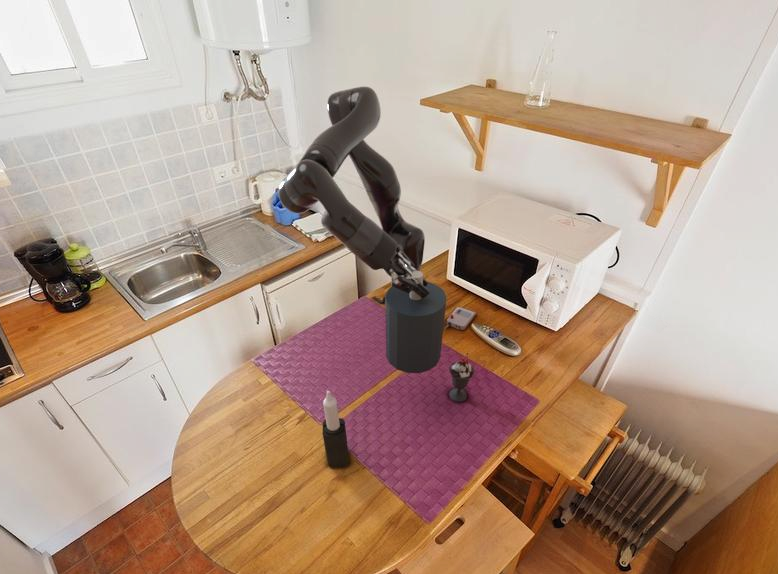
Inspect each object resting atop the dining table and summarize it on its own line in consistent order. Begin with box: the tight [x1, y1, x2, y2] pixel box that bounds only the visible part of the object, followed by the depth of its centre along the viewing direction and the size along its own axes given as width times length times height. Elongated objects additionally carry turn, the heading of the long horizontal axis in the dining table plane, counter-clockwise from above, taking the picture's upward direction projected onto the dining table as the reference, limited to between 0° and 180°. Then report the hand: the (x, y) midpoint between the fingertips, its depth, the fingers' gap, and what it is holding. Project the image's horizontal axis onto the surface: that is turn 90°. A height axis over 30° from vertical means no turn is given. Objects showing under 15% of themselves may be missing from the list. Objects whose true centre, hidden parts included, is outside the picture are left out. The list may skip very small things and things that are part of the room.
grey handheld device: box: [444, 306, 477, 331], centre depth 146 cm, size 7×16×3 cm, turn 148°
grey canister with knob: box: [384, 270, 447, 374], centre depth 101 cm, size 14×14×24 cm
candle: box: [321, 390, 350, 469], centre depth 98 cm, size 5×5×25 cm
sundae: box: [448, 352, 475, 403], centre depth 117 cm, size 7×7×15 cm
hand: (425, 290), depth 95 cm, fingers closed on grey canister with knob, 3 cm apart
